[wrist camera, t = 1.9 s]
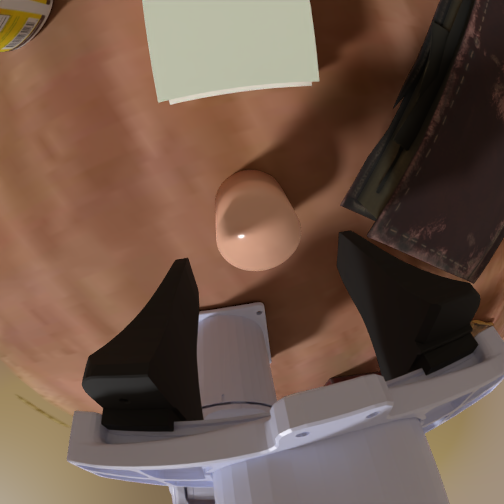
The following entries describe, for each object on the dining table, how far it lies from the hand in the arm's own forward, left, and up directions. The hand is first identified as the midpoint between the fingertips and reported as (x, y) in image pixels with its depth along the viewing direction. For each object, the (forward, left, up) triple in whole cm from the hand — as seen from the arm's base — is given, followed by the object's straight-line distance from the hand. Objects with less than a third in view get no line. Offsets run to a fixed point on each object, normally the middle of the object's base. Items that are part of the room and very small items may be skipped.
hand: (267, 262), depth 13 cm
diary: (+5, -20, -8) cm, 22 cm away
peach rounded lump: (0, 0, -7) cm, 7 cm away
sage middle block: (+11, 0, -4) cm, 11 cm away
